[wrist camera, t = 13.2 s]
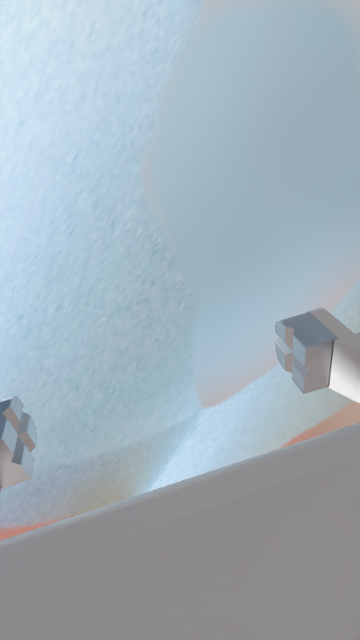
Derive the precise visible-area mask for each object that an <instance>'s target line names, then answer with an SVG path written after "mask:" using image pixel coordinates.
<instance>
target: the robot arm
mask: <svg viewBox="0 0 360 640" xmlns="http://www.w3.org/2000/svg"><path fill="white" fill-rule="evenodd" d="M275 332H276V333H277V335H278V336H279V338H278V340H277V342H276V353H277V357H278V360H279V362H280V364H281V365H282V367H283V368H284V370H286V371H288V372H291V373H292V380H293V381H294V382H295V384H296V385H297V386H298V388H299V389H300V390H301V391H302V393H303V394H305V393H308V392H312V391H315V390H319V389H322V388H326V387H329V388H330V389H332V390H334V391H336V392H338V393H340V394H342V395H344V396H346V397H348V398H350V399H352V400H354V401H356V402H358V403H360V333H356V334H354V333H353V332H352V331H351V330H349V329H348V328H347V327H346V326H345V325H343V324H342V323H341V322H340V321H338V320H337V319H336V318H335V317H334V316H332V315H331V314H330V313H329V312H327V311H326V310H325V309H323V308H318V309H315V310H312V311H309V312H306V313H304V314H300V315H297V316H293V317H290V318H287V319H283V320H280V321H277V322H276V326H275ZM22 410H23V403H22V402H21V400H20V399H19V397H16V396H13V397H9V398H5V399H1V400H0V489H3V488H6V487H9V486H12V485H15V484H18V483H21V482H24V481H27V480H30V479H31V476H32V469H33V462H34V458H33V456H32V455H31V451H32V450H33V449H34V448H35V446H36V440H37V435H36V427H35V425H34V422H33V420H32V418H31V416H30V415H28V414H26V413H24V412H22ZM0 492H1V490H0ZM0 640H360V423H357V424H354V425H351V426H348V427H344V428H341V429H338V430H335V431H332V432H329V433H326V434H323V435H320V436H317V437H314V438H311V439H308V440H305V441H302V442H299V443H296V444H293V445H290V446H287V447H283V448H280V449H277V450H274V451H271V452H268V453H265V454H262V455H259V456H256V457H253V458H250V459H247V460H244V461H241V462H238V463H235V464H232V465H229V466H226V467H223V468H220V469H217V470H213V471H210V472H207V473H204V474H201V475H198V476H195V477H192V478H189V479H186V480H183V481H180V482H177V483H174V484H171V485H168V486H165V487H162V488H159V489H156V490H153V491H150V492H147V493H144V494H141V495H137V496H134V497H131V498H128V499H125V500H122V501H119V502H116V503H113V504H110V505H107V506H104V507H101V508H98V509H95V510H92V511H89V512H86V513H83V514H80V515H77V516H74V517H71V518H68V519H65V520H61V521H58V522H55V523H52V524H49V525H46V526H43V527H40V528H37V529H34V530H31V531H28V532H25V533H22V534H19V535H16V536H13V537H10V538H7V539H4V540H1V541H0Z"/></svg>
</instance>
